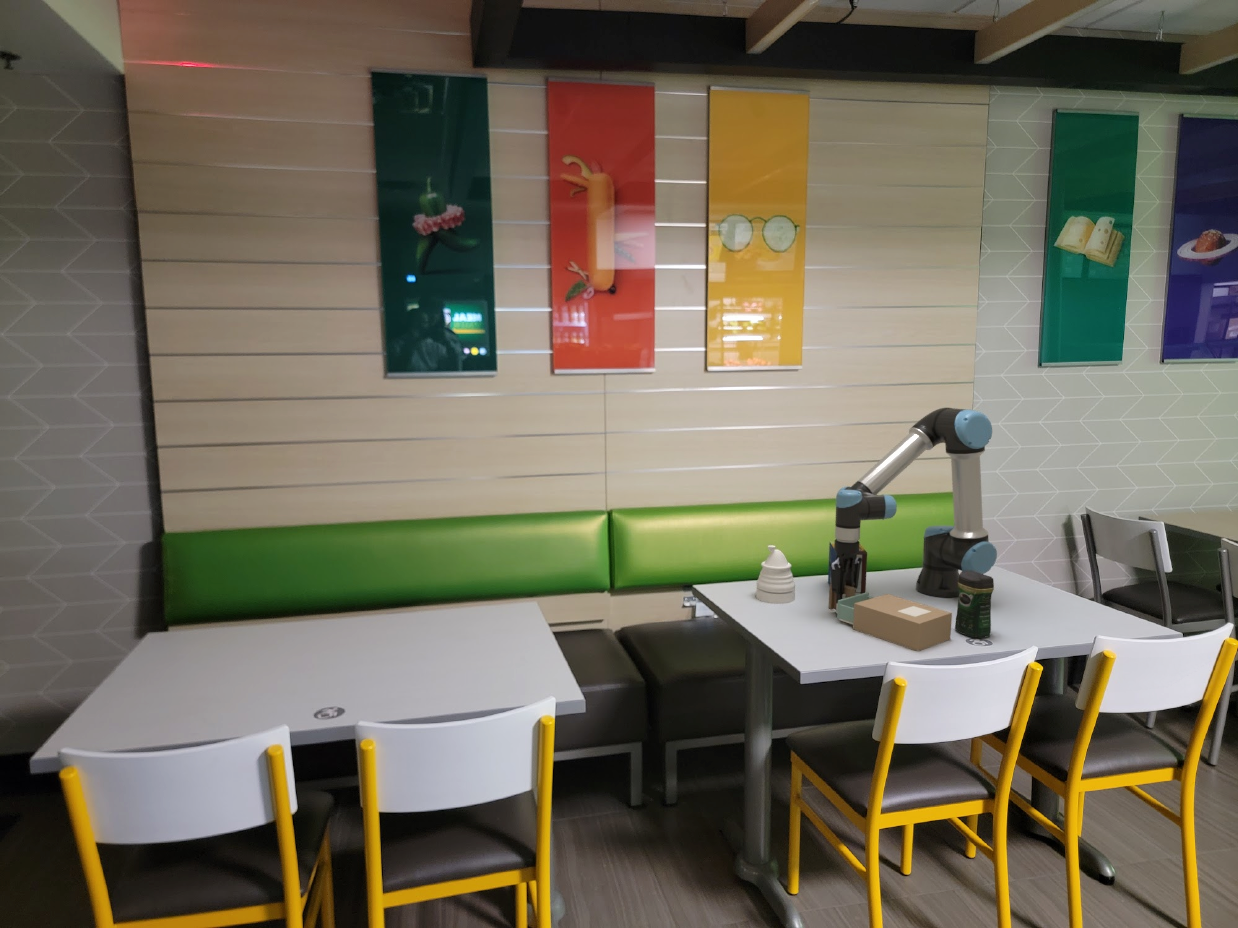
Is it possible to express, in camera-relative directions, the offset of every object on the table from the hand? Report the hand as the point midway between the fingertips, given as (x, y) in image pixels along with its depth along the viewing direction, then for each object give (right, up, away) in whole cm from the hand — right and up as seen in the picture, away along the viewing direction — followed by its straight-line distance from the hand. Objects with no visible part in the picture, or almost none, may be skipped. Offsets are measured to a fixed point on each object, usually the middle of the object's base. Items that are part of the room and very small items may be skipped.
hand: (843, 612), depth 256 cm
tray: (+6, -1, -8) cm, 10 cm away
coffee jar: (+34, -4, -15) cm, 37 cm away
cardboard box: (+12, -3, -16) cm, 21 cm away
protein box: (+8, +3, +27) cm, 29 cm away
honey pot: (-18, +1, +18) cm, 26 cm away
